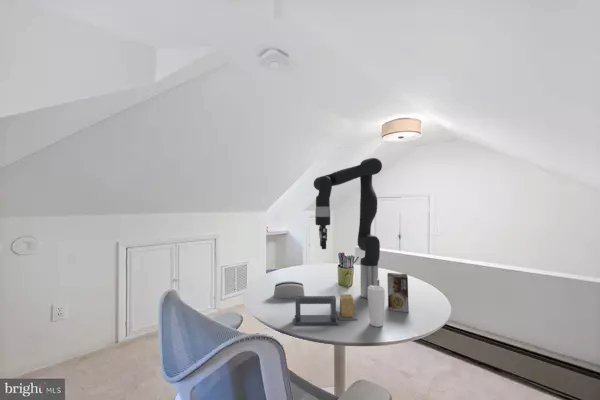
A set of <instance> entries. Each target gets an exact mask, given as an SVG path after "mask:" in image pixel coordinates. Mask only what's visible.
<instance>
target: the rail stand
mask: <svg viewBox="0 0 600 400" xmlns="http://www.w3.org/2000/svg"><path fill="white" fill-rule="evenodd" d="M301 305H330V307H329V308H330V309H329V311H330V314H301ZM336 311H337V298H336V295H321V296H320V295H316V296H315V295H308V296H307V295H306V296H296V298H295V315H294V320H293V321H294V323H293V325H294V326H338V325H339V320H338V317H337V313H336Z"/></svg>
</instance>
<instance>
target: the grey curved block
mask: <svg viewBox="0 0 600 400" xmlns="http://www.w3.org/2000/svg"><path fill="white" fill-rule="evenodd" d="M304 287H305V286H304V284H303V282H301V281H295V280H287V281H281V282H278V283H276V284H275V286H274V293H273V299H296V296H305V288H304Z"/></svg>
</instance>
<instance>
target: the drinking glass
mask: <svg viewBox="0 0 600 400" xmlns="http://www.w3.org/2000/svg"><path fill="white" fill-rule="evenodd" d="M385 297H386V295H385V287H382V285H381V286H380V285H379V286H369V287H368V299H367V305H368V314H369V324H370V325H371V326H373V327H376V328H379V327H382V326H383V325H384V311H385V300H386V299H385Z"/></svg>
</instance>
